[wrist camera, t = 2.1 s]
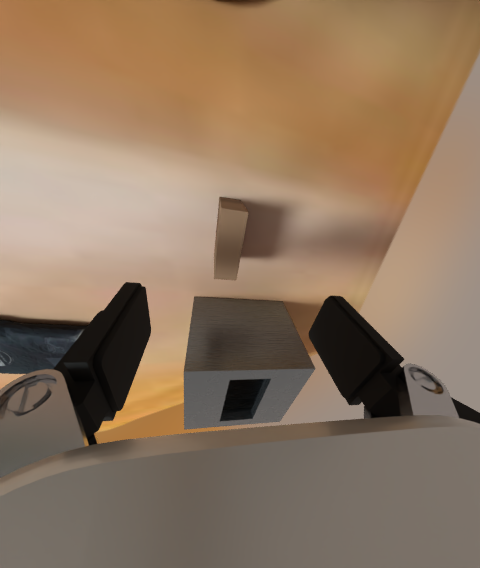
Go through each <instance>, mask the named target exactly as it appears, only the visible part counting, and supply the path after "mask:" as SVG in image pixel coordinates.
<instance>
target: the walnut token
mask: <svg viewBox="0 0 480 568" xmlns="http://www.w3.org/2000/svg"><path fill="white" fill-rule="evenodd" d="M248 213H249V212H248V211H247V209H246V208H245V206H244V205H243V203H242V202H241V200H236V199H230V198H223V197H220V198H219V208H218V219H217V230H216V240H215V251H214V279H224V280H236V279H237V273H238V268H239V262H240V257H241V251H242V246H243V240H244V235H245V229H246V224H247V218H248Z"/></svg>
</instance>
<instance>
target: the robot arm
mask: <svg viewBox="0 0 480 568" xmlns="http://www.w3.org/2000/svg"><path fill="white" fill-rule="evenodd" d="M150 334H151V324H150V317H149V309H148V302H147V294H146V288H145V287H142V286H141V284H140V283H129V282H126V283H125V284H124V285H123V286H122V287H121V289H120V290H119V291H118V293H117V294H116V295H115V297H114V298H113V299H112V300H111V302H110V303H109V304H108V306H107V307H106V308H105V310H104V311H100V312H99V313H98V314H97V315H96V316H95V317H94V318H93V320H92V321H91V322H90V323H89V325H88V326H87V327H86V329H85V330H84V331H83V332H82V334H81V335H80V336H79V337H78V339H77V340H76V341H75V342H74V344H73V345H72V346H71V347H70V349H69V350H68V351H67V352H66V354H65V355H64V356H63V357H62V359H61V360H60V361H59V362H58V364H57V365H56V366H55V367H54V369H53V370H52V369H44V370H38V371H34V372H31V373H29V374H26V375H23V376H21V377H19V378H17V379H16V380H14V381H12V382H10V383H9V384H8V385H6V386H5V387H3V388H2V389H1V390H0V568H480V413H479V412H477V411H475V410H473V409H471V408H470V407H468V406H466V405H464V404H462V403H460V402H459V401H457V400H455V399H453V398H451V397H450V394H449V392H448V390H447V388H446V387H445V385H444V384H443V383H442V382H441V381H440V380H439V379H438V378H437V377H436V376H435V375H433V374H432V373H431V372H429V371H428V370H426V369H424V368H422V367H420V366H418V365H415V364H406V365H405V366H404V367H403V368H402V367H401V366H400V365H399V364H400V363H401V362H402V361H403V360H404V358H403V357H402V356H401V355H400V354H399V353H398V352H397V351H396V350H395V349H394V348H393V347H392V346H391V345H390V344H388V342H387V341H386V340H385V339H384V338H383V337H382V336H381V335H380V334H379V333H378V332H377V331H376V330H375V329H374V328H373V327H372V326H371V325H370V324H369V323H368V322H367V321H366V320H365V319H364V318H363V317H362V316H361V315H360V314H359V313H358V312H357V311H356V310H355V309H354V308H353V307H352V306H351V305H350V304H349V303H348V302H347V301H346V300H345V299H344V298H343V297H341V296H329V297H328V298H327V299H326V300H325V301H324V303H323V305H322V307H321V309H320V311H319V313H318V315H317V317H316V319H315V321H314V323H313V325H312V327H311V329H310V331H309V338H310V340H311V342H312V344H313V345H314V347H315V349H316V351H317V352H318V354H319V356H320V358H321V359H322V361H323V363H324V365H325V367H326V368H327V370H328V372H329V374H330V375H331V377H332V379H333V381H334V383H335V384H336V386H337V388H338V390H339V391H340V393H341V395H342V396H343V397H344V398H345V399H346V400H347V402H348V404H349V405H359V404H360V403H361V402H363V404H364V405H365V406H364V419H355V420H340V421H328V422H315V423H303V424H291V425H279V426H266V427H255V428H243V429H231V430H220V431H208V432H198V433H186V434H175V435H166V436H157V437H147V438H138V439H128V440H120V441H115V442H108V443H101V444H99V442H98V439H97V436H96V433H95V432H97V431H98V430H99V428H100V426H101V424H102V421H112V420H113V419H114V417H115V414H116V412H117V411H120V410H121V409H122V408H123V406H124V403H125V401H126V398H127V395H128V393H129V390H130V387H131V385H132V382H133V379H134V377H135V374H136V371H137V369H138V366H139V364H140V361H141V358H142V356H143V353H144V350H145V348H146V345H147V342H148V340H149V337H150Z"/></svg>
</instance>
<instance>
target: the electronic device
mask: <svg viewBox="0 0 480 568" xmlns="http://www.w3.org/2000/svg"><path fill="white" fill-rule="evenodd" d="M86 327H87V326H69V325H48V324H21V323H17V322H12V321H7V320H0V373H9V374H29V373H31V372H34V371H38V370H44V369H52V370H53V369H54V367H55V366H56V365H57V364H58V362H59V361H60V360H61V359H62V357H63V356H64V355H65V354H66V352H67V351H68V350H69V349H70V347H71V346H72V345H73V344H74V342H75V341H76V340H77V339H78V337H79V336H80V335H81V334H82V332H83V331H84V330H85V329H86Z"/></svg>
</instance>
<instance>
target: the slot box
mask: <svg viewBox="0 0 480 568" xmlns="http://www.w3.org/2000/svg"><path fill="white" fill-rule="evenodd" d="M314 370H315V367H314V365H313V363H312V361H311V359H310V357H309V355H308V353H307V351H306V349H305V346H304V344H303V342H302V340H301V338H300V336H299V334H298V332H297V330H296V328H295V326H294V324H293V322H292V320H291V318H290V316H289V314H288V312H287V310H286V308H285V306H284V304H283V302H282V301H266V300H247V299H228V298H209V297H194V302H193V310H192V317H191V324H190V331H189V338H188V346H187V353H186V360H185V367H184V429H195V428H207V427H219V426H232V425H243V424H255V423H268V422H279V421H281V419H282V417H283V416H284V415H285V413H286V412H287V410H288V409H289V407H290V406H291V404H292V403H293V401H294V400H295V398H296V397H297V395H298V394H299V392H300V391H301V389H302V387H303V386H304V385H305V383H306V382H307V380H308V378H309V377H310V376H311V374H312V373H313V371H314Z"/></svg>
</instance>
